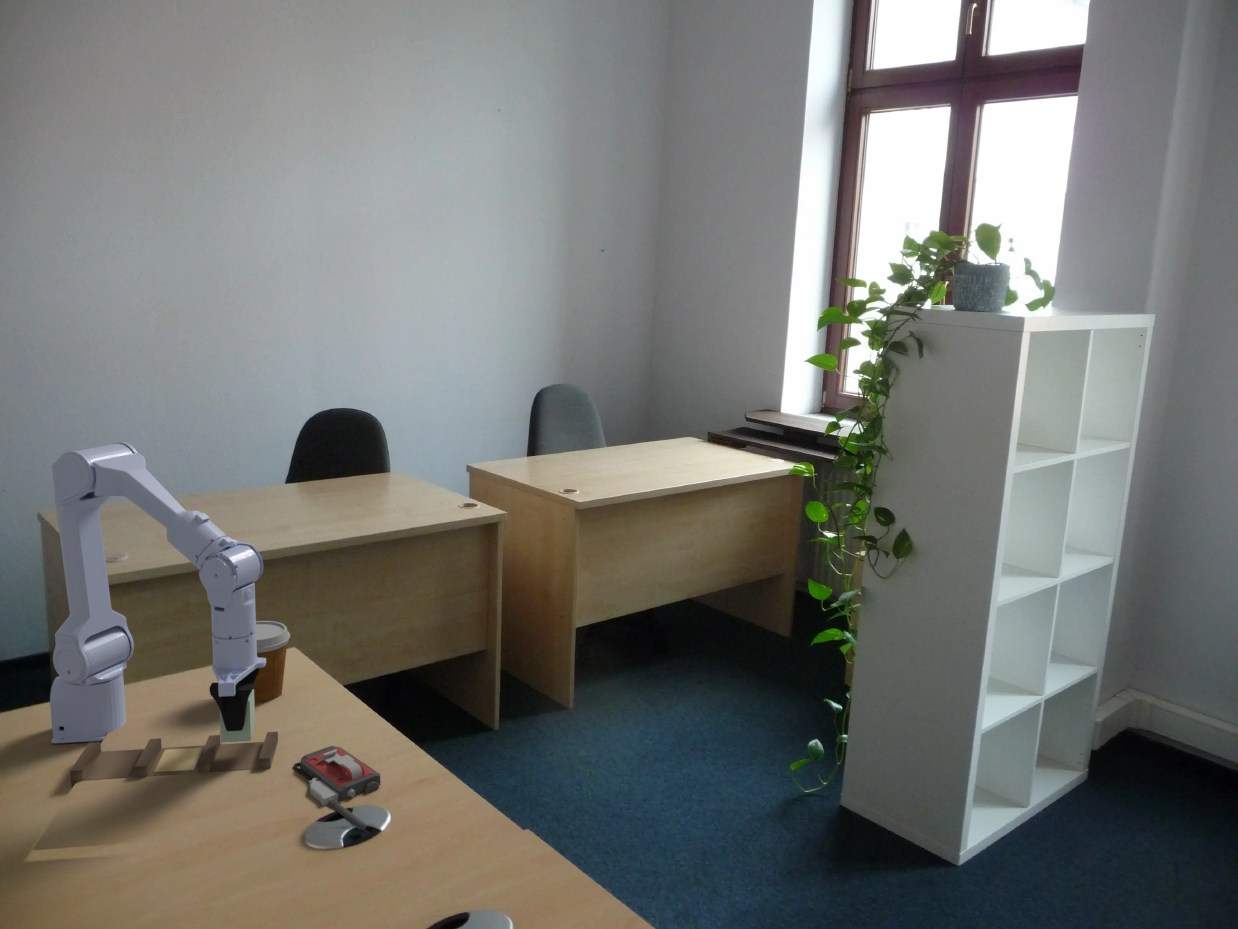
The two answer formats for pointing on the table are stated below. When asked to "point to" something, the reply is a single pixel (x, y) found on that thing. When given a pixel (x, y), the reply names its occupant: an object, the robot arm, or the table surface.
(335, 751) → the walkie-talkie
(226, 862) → the table surface
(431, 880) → the table surface
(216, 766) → the notch rail
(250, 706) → the sage block
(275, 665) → the disposable coffee cup
